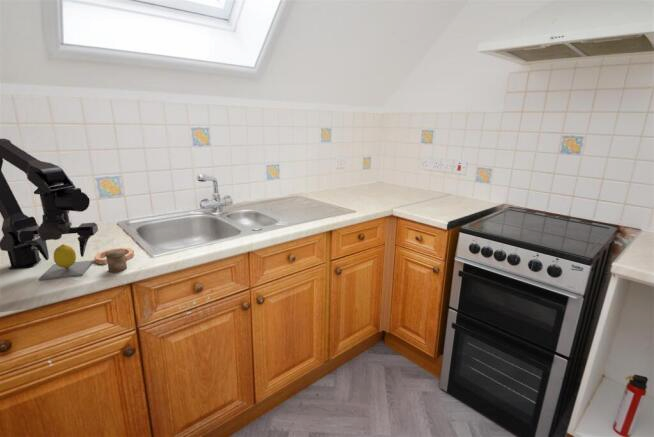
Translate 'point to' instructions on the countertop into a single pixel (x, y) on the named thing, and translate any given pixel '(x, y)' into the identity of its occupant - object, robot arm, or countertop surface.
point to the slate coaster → (66, 270)
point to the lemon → (64, 256)
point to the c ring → (99, 256)
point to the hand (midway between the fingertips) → (65, 258)
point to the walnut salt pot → (116, 260)
